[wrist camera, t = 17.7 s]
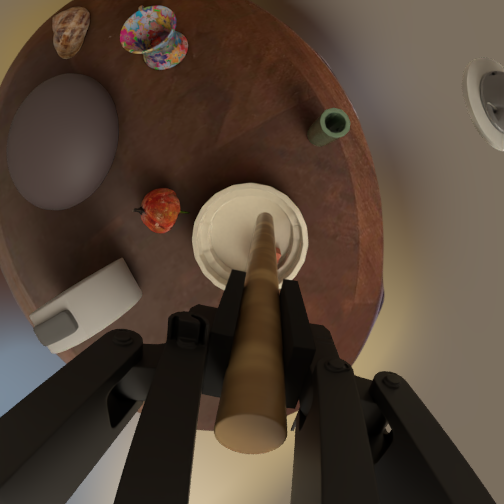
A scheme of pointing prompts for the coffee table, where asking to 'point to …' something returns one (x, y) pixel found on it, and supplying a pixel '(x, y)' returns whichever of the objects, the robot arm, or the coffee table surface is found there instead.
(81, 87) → the flattened ellipsoid
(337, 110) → the holder
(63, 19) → the seashell
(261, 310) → the stick
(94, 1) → the coffee table surface
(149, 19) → the mug
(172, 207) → the pomegranate
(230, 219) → the bowl
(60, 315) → the alarm clock
